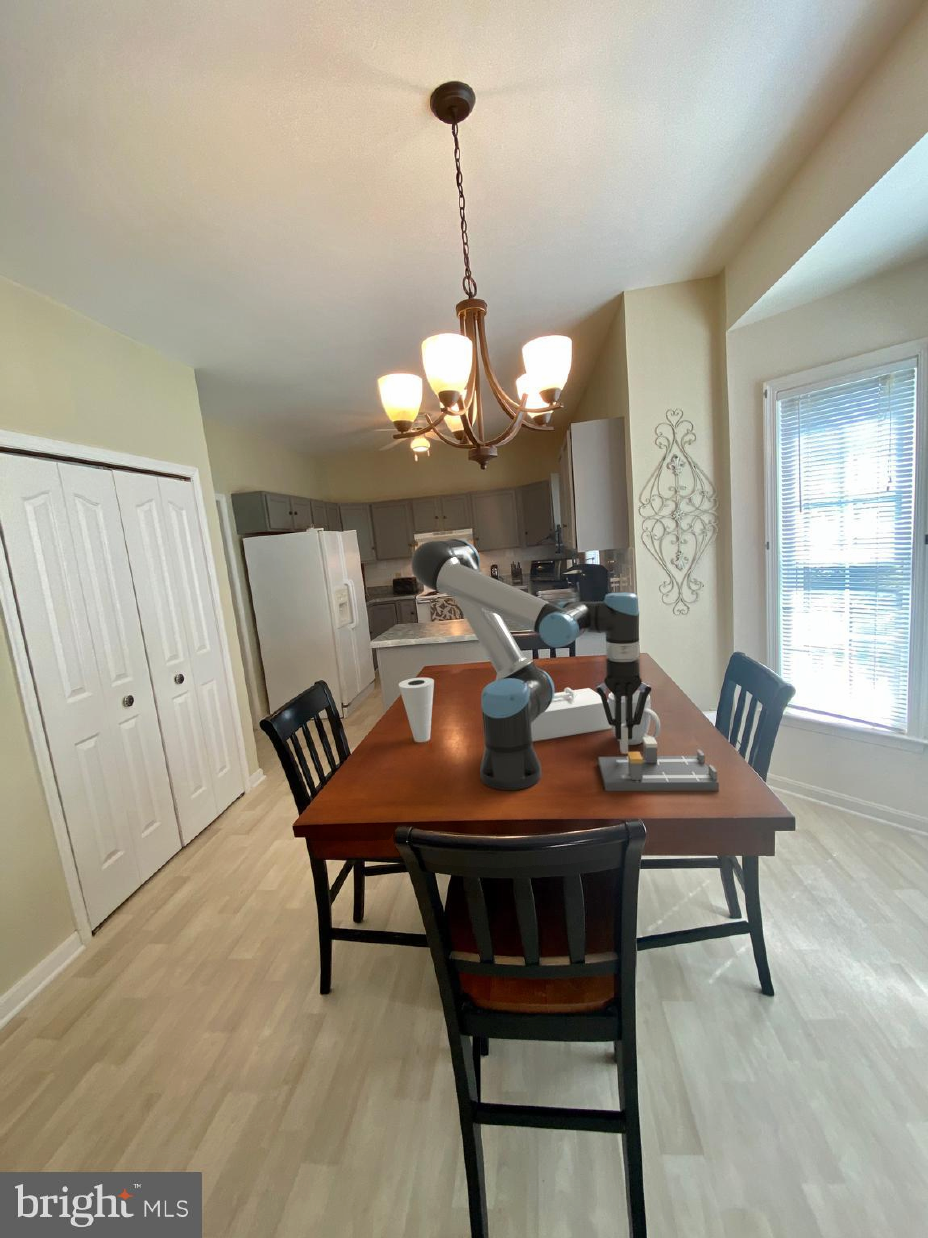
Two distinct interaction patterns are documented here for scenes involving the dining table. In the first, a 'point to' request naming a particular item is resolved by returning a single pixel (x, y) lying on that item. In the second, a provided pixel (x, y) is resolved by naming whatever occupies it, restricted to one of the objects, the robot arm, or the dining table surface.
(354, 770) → the dining table surface
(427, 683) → the white paper towel roll
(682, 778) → the console
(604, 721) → the tissue box
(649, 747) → the fader cream
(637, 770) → the fader orange
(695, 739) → the dining table surface
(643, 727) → the mug
